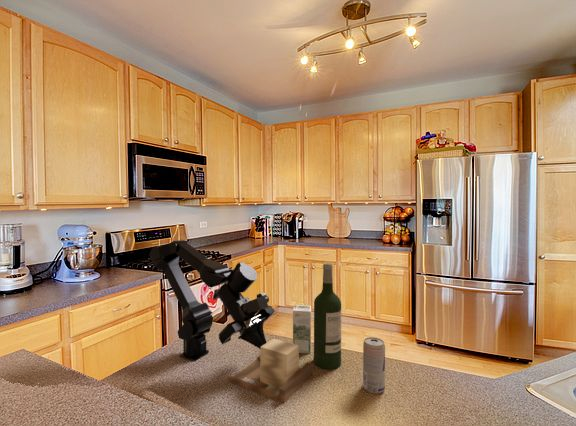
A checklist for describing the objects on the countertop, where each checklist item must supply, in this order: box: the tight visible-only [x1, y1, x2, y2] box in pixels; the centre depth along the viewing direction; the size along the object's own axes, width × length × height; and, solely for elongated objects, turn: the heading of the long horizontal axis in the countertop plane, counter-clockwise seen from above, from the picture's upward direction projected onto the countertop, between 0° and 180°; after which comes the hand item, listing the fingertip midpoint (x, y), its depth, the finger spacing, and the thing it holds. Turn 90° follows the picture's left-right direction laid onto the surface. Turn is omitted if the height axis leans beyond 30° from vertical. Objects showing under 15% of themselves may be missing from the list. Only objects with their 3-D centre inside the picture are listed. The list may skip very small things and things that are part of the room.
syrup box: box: [292, 304, 312, 354], centre depth 96 cm, size 6×6×14 cm
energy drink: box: [362, 336, 386, 394], centre depth 77 cm, size 5×5×12 cm
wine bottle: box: [313, 262, 342, 371], centre depth 87 cm, size 8×8×30 cm
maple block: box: [259, 338, 300, 388], centre depth 78 cm, size 8×6×9 cm
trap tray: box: [226, 355, 313, 404], centre depth 79 cm, size 18×14×4 cm
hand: (266, 350), depth 80 cm, fingers closed, pressing on maple block
